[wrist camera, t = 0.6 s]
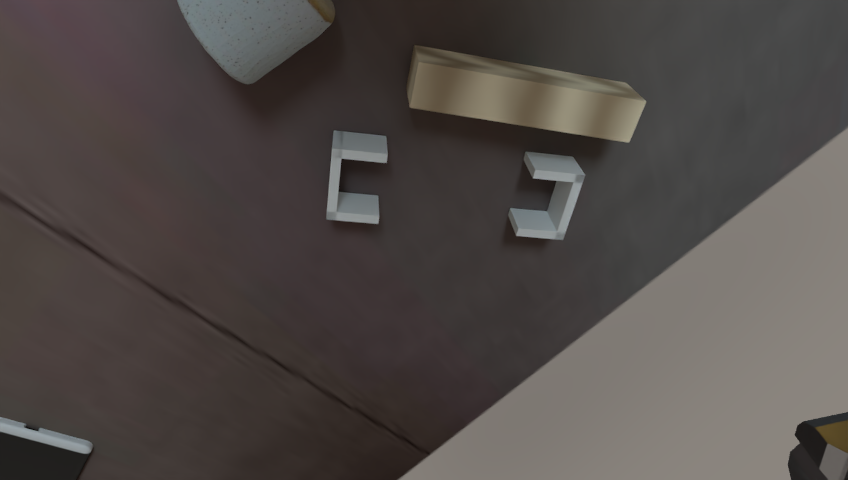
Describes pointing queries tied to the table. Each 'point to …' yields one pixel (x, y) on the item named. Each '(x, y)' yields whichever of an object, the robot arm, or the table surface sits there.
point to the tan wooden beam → (522, 94)
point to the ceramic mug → (255, 31)
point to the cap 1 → (339, 202)
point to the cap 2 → (562, 199)
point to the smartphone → (39, 453)
